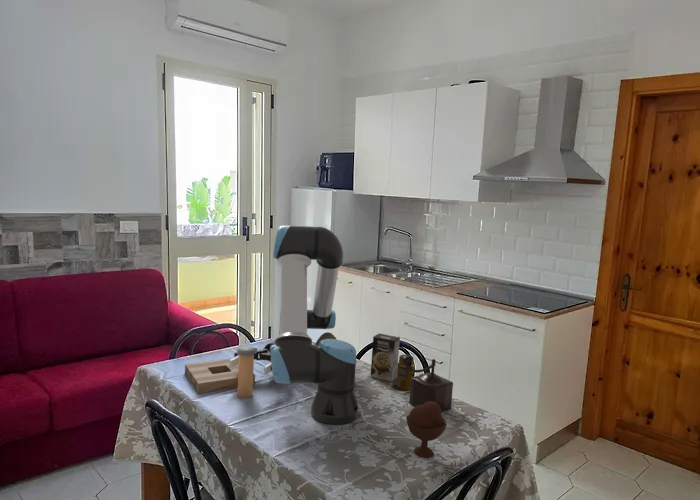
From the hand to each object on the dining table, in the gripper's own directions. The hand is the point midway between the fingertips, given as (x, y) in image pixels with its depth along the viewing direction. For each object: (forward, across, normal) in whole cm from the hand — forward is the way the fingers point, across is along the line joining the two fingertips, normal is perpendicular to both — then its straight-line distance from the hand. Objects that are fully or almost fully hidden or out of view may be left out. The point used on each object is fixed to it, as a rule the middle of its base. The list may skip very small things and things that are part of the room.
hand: (247, 367), depth 166 cm
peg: (+2, 0, -9) cm, 9 cm away
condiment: (-29, -48, -9) cm, 57 cm away
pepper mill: (-16, -58, -9) cm, 61 cm away
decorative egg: (-34, -16, -9) cm, 38 cm away
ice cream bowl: (+13, -64, -9) cm, 66 cm away
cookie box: (-37, -39, -9) cm, 54 cm away
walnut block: (-6, +15, -9) cm, 19 cm away
